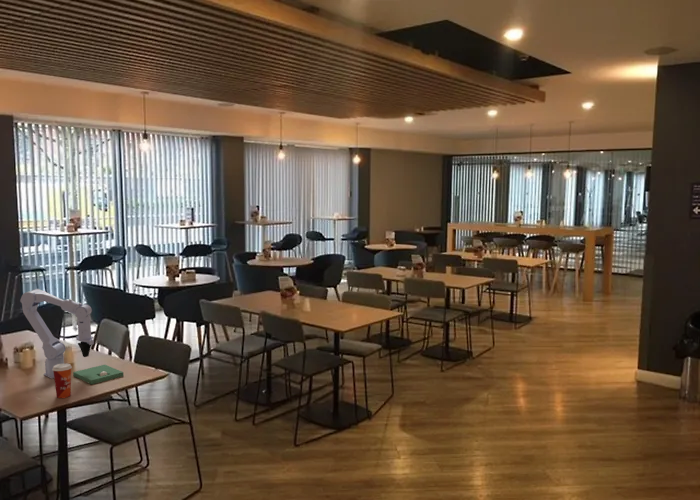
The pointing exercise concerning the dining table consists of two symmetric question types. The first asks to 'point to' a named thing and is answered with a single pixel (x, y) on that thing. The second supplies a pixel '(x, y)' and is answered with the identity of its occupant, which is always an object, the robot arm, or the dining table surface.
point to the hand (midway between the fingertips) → (85, 356)
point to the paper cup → (62, 380)
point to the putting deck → (97, 374)
